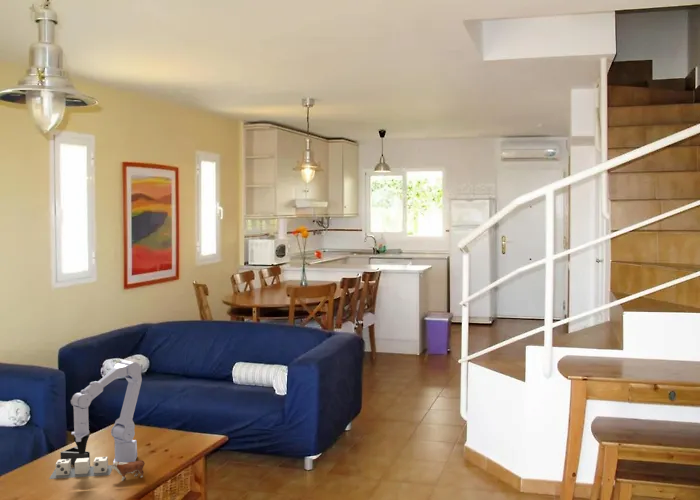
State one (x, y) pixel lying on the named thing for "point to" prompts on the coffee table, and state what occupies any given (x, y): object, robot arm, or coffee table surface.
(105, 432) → the coffee table surface
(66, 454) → the door stopper
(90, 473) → the slate mat
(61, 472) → the birch block three pips
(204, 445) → the coffee table surface
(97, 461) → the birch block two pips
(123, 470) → the bull figurine
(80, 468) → the birch block plain
